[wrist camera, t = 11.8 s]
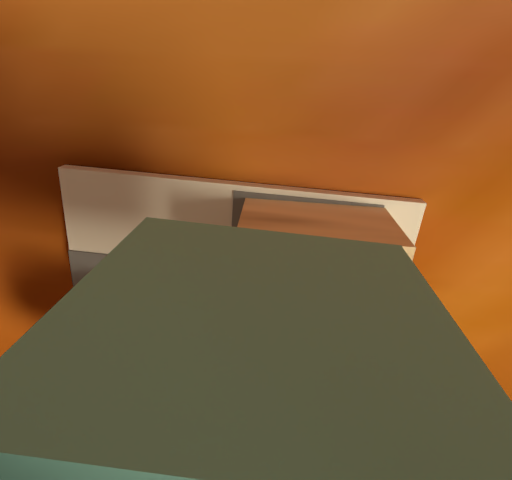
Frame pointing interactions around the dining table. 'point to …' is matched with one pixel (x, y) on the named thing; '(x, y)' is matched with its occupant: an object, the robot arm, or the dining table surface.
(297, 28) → the dining table surface
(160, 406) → the teal cube
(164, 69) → the dining table surface
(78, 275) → the cream grey flat board
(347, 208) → the maple base block
